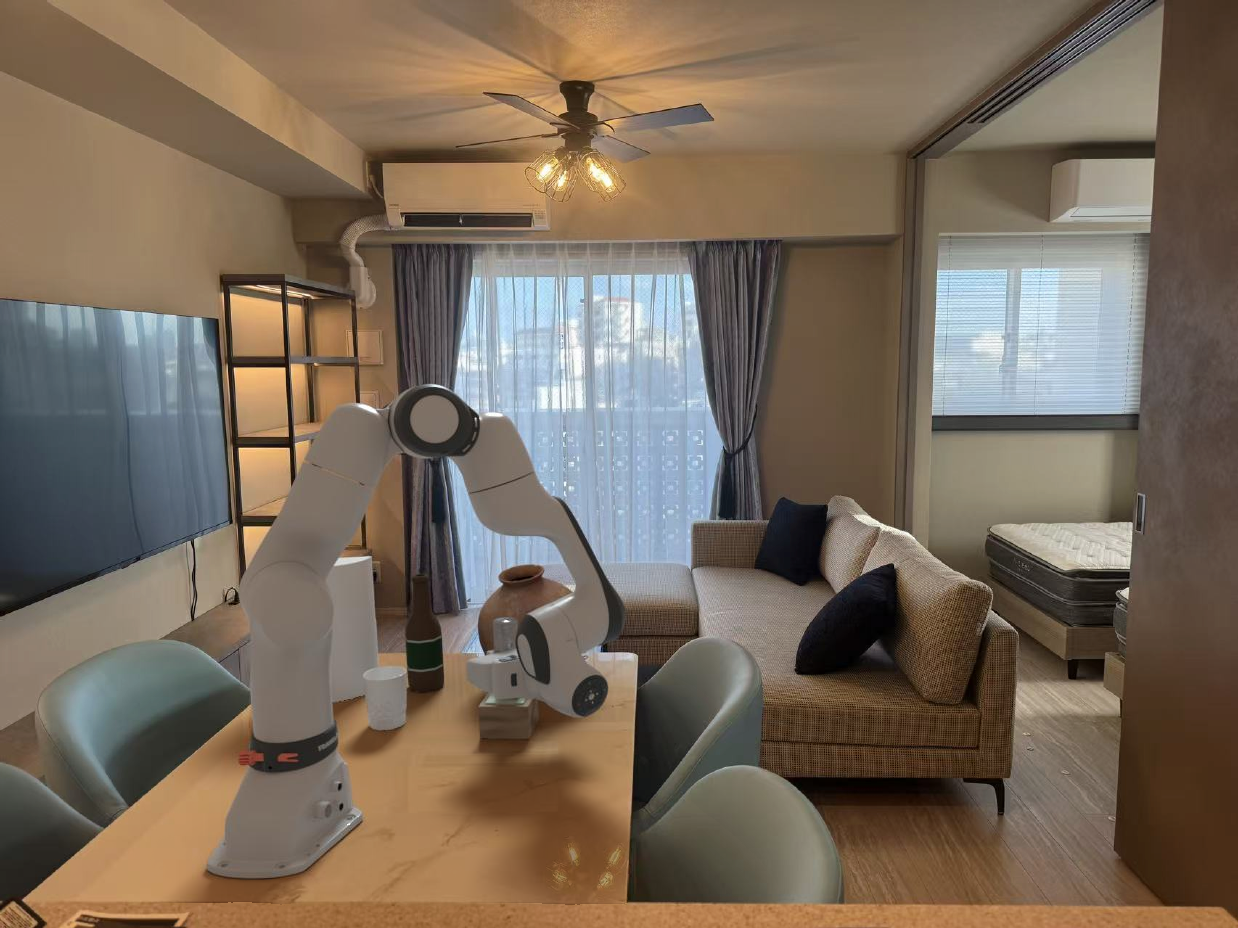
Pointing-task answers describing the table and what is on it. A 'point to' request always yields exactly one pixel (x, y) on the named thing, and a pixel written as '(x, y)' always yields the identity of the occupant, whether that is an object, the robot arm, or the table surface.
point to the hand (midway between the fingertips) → (504, 651)
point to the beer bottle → (423, 641)
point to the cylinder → (352, 626)
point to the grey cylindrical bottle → (504, 633)
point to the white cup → (386, 697)
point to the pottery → (517, 598)
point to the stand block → (507, 717)
